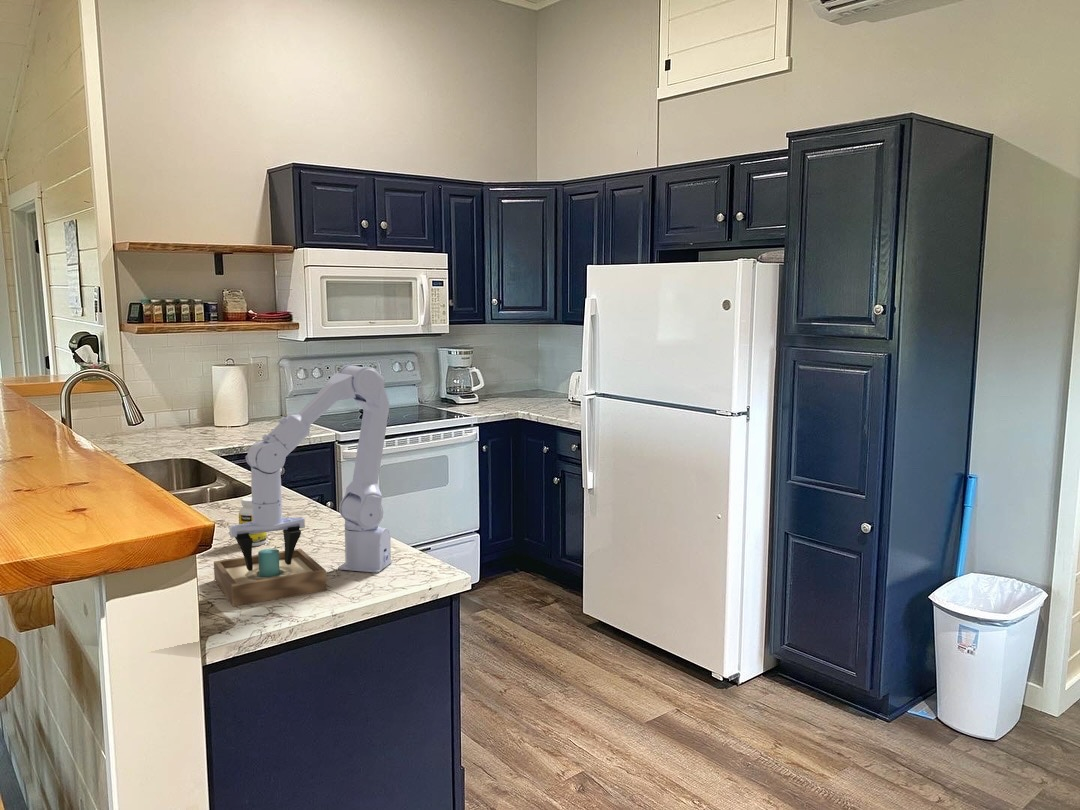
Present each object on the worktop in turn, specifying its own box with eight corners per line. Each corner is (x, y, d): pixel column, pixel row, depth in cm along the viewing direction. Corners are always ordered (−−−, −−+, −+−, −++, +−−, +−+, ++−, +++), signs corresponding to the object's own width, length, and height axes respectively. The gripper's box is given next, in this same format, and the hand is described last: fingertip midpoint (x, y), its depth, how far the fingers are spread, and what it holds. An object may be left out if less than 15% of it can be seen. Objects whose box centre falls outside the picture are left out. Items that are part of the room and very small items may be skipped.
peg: (283, 582, 170) (282, 549, 169) (272, 588, 166) (271, 555, 165) (266, 580, 171) (265, 548, 170) (255, 587, 167) (254, 553, 166)
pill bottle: (238, 548, 194) (236, 502, 193) (240, 541, 200) (239, 496, 199) (266, 546, 196) (264, 500, 194) (267, 539, 202) (266, 495, 200)
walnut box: (301, 566, 181) (300, 548, 180) (326, 589, 165) (326, 570, 165) (214, 580, 171) (213, 561, 171) (233, 606, 156) (232, 586, 155)
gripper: (297, 493, 173) (299, 555, 175) (225, 501, 166) (227, 566, 167) (307, 499, 167) (308, 564, 169) (232, 508, 160) (235, 576, 161)
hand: (269, 566), depth 168 cm, fingers open, 7 cm apart
